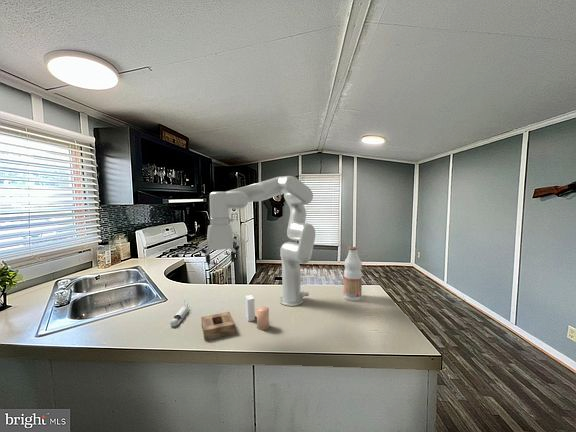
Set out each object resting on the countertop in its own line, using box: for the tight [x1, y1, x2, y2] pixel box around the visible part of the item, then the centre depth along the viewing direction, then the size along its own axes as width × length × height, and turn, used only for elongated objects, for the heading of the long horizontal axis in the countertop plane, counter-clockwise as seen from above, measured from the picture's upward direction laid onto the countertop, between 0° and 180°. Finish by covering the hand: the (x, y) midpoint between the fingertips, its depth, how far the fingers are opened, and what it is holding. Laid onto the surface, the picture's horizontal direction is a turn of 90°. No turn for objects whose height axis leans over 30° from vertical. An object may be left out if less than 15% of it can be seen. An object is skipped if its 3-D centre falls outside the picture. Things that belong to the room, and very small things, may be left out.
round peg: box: [256, 306, 270, 331], centre depth 109 cm, size 5×5×8 cm
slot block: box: [201, 311, 236, 341], centre depth 107 cm, size 12×12×4 cm
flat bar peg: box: [244, 294, 256, 322], centre depth 117 cm, size 3×5×10 cm, turn 24°
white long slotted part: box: [169, 299, 191, 327], centre depth 118 cm, size 18×5×6 cm, turn 3°
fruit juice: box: [343, 246, 363, 302], centre depth 138 cm, size 9×9×28 cm
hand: (220, 262), depth 106 cm, fingers open, 9 cm apart
